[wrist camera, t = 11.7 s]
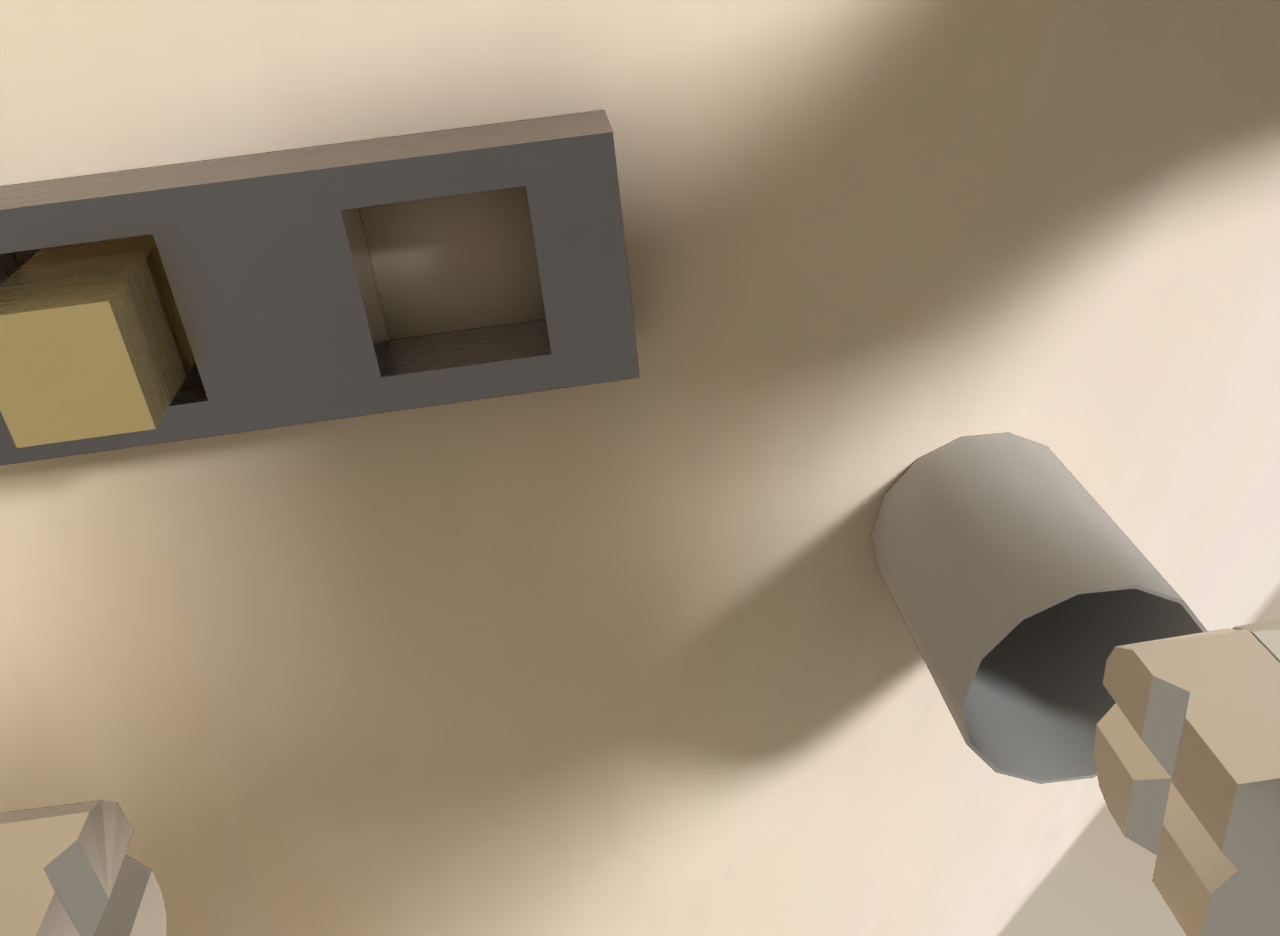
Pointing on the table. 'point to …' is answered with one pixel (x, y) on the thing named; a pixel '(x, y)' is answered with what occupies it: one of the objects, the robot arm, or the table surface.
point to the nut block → (89, 342)
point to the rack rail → (347, 274)
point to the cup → (1018, 598)
